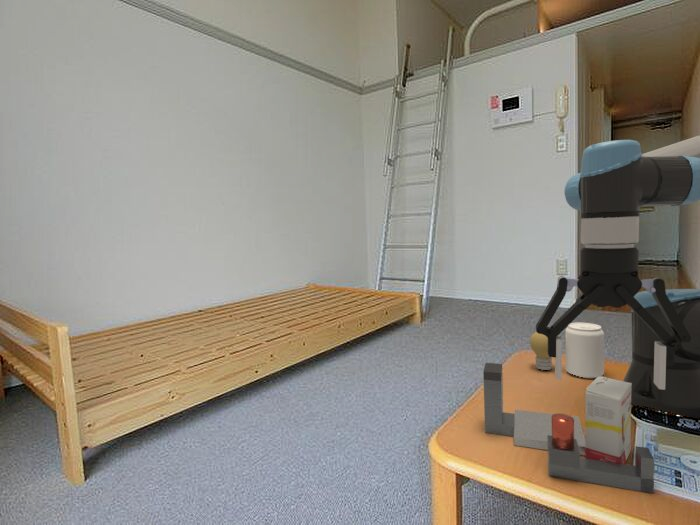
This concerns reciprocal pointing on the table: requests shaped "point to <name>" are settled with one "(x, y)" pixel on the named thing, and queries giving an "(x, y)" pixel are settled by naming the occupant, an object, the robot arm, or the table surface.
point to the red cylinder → (563, 442)
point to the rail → (612, 472)
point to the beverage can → (585, 350)
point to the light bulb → (541, 351)
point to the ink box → (608, 420)
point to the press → (518, 416)
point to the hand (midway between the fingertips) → (606, 381)
